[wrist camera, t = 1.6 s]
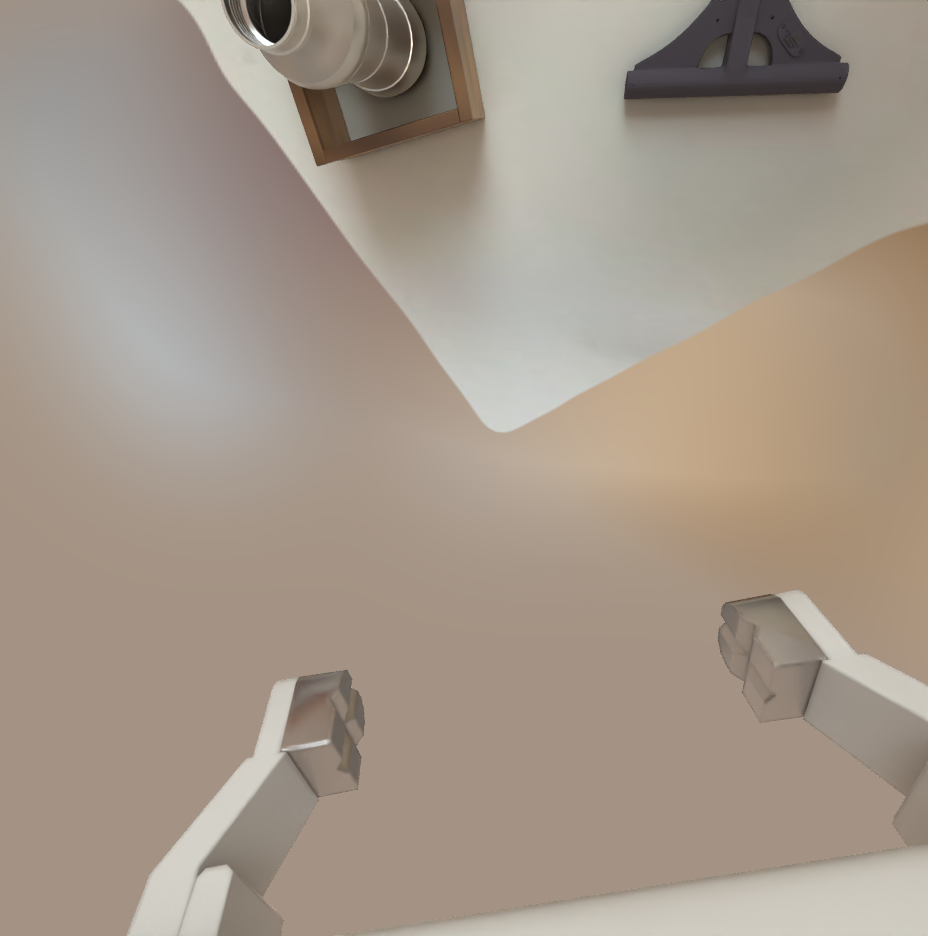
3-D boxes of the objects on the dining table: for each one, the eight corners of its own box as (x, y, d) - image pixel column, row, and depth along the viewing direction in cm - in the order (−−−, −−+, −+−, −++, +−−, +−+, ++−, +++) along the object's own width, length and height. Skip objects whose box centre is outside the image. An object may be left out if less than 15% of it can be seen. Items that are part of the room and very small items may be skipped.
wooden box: (288, -31, 38) (241, -54, 33) (447, -101, 34) (422, -138, 29) (347, 160, 45) (316, 166, 39) (486, 118, 41) (472, 119, 36)
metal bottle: (420, 111, 42) (316, 110, 25) (342, 79, 41) (187, 56, 25) (443, 11, 38) (338, -66, 22) (358, -26, 38) (187, -131, 21)
